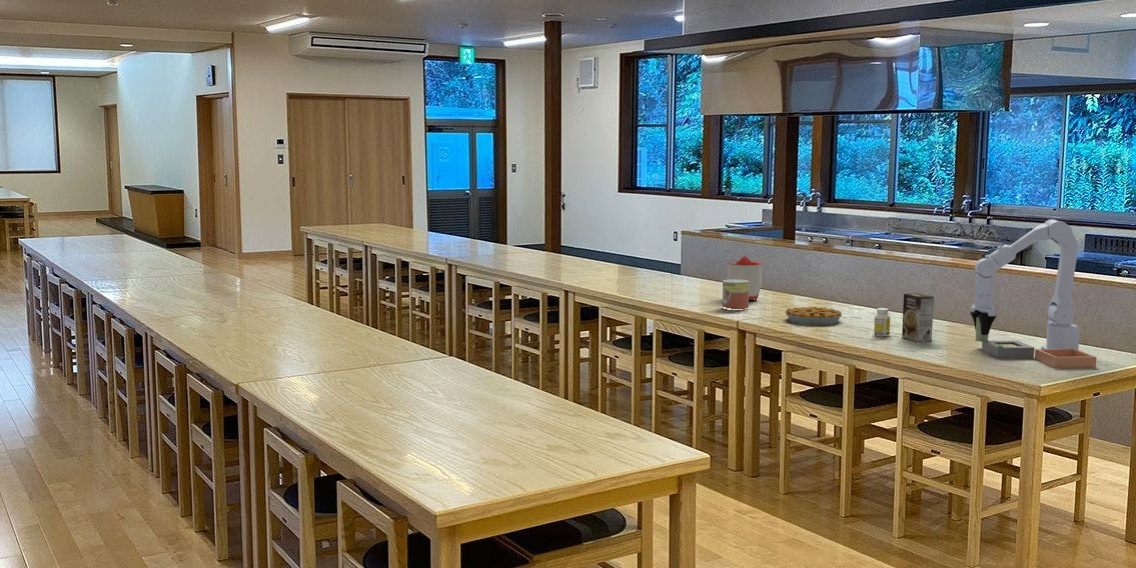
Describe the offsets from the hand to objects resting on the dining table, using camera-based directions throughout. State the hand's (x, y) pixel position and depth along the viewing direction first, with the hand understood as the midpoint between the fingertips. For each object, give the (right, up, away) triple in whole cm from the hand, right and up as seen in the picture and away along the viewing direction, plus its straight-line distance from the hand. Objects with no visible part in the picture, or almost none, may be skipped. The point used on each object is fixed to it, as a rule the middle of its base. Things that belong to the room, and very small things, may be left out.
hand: (982, 333), depth 345 cm
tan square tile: (+4, -4, -10) cm, 12 cm away
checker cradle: (+4, -6, -10) cm, 13 cm away
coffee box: (-16, -3, +17) cm, 24 cm away
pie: (-44, +2, +55) cm, 71 cm away
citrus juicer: (-63, +10, +111) cm, 128 cm away
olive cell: (0, -2, 0) cm, 2 cm away
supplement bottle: (-27, -2, +25) cm, 37 cm away
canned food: (-70, +6, +86) cm, 111 cm away
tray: (+17, -8, -24) cm, 30 cm away
